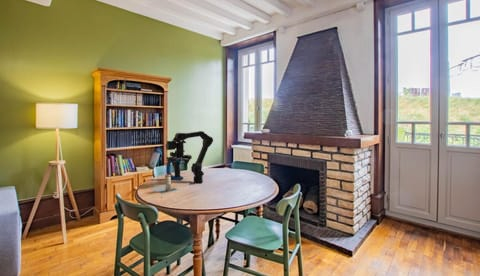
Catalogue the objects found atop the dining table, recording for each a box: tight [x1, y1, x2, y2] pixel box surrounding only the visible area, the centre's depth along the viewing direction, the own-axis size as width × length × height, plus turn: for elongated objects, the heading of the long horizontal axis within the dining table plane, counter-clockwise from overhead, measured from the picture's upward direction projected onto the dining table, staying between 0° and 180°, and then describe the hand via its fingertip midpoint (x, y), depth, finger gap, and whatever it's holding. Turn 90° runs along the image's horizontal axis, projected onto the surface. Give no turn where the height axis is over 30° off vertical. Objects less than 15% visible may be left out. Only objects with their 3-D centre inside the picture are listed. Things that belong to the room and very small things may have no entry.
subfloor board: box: [147, 184, 181, 195], centre depth 190 cm, size 20×14×2 cm
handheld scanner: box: [165, 156, 184, 181], centre depth 223 cm, size 5×16×20 cm, turn 78°
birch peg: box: [164, 174, 172, 191], centre depth 185 cm, size 4×4×11 cm
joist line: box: [158, 187, 178, 194], centre depth 185 cm, size 12×4×1 cm, turn 139°
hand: (180, 169), depth 204 cm, fingers open, 9 cm apart
